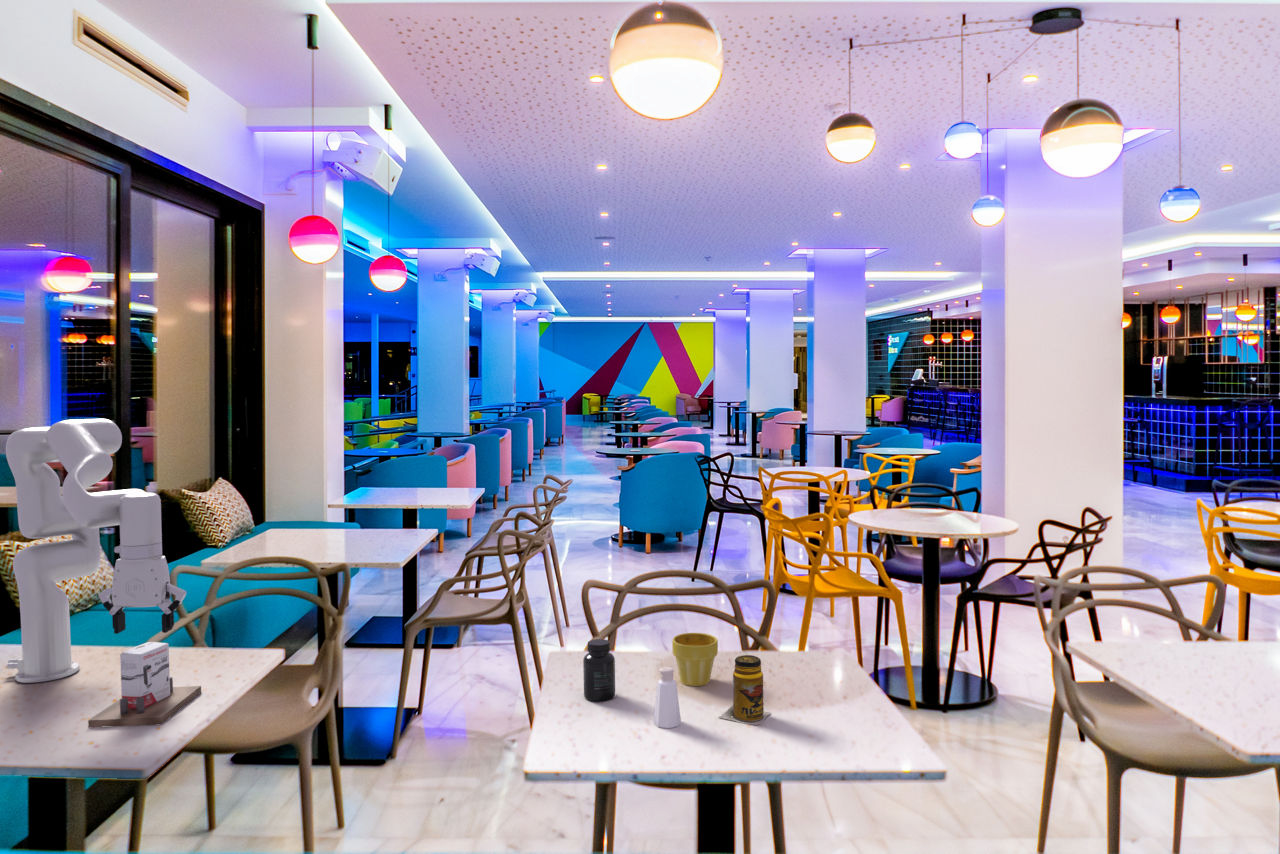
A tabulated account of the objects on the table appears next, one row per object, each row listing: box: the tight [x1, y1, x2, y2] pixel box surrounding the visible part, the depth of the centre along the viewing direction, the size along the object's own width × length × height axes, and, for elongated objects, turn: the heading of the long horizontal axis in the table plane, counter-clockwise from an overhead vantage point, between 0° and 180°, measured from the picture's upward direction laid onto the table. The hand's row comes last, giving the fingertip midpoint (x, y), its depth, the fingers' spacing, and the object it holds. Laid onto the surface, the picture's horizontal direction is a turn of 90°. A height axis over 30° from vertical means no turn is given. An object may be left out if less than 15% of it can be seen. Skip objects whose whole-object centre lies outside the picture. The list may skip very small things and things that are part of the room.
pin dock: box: [87, 676, 202, 728], centre depth 175 cm, size 14×18×4 cm
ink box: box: [119, 641, 171, 709], centre depth 175 cm, size 9×5×12 cm, turn 171°
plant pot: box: [671, 632, 719, 687], centre depth 187 cm, size 10×10×10 cm
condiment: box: [718, 654, 772, 726], centre depth 167 cm, size 7×8×12 cm
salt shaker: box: [653, 666, 682, 729], centre depth 163 cm, size 5×5×11 cm
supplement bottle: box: [582, 638, 616, 703], centre depth 178 cm, size 7×7×12 cm
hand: (143, 631), depth 175 cm, fingers open, 9 cm apart
